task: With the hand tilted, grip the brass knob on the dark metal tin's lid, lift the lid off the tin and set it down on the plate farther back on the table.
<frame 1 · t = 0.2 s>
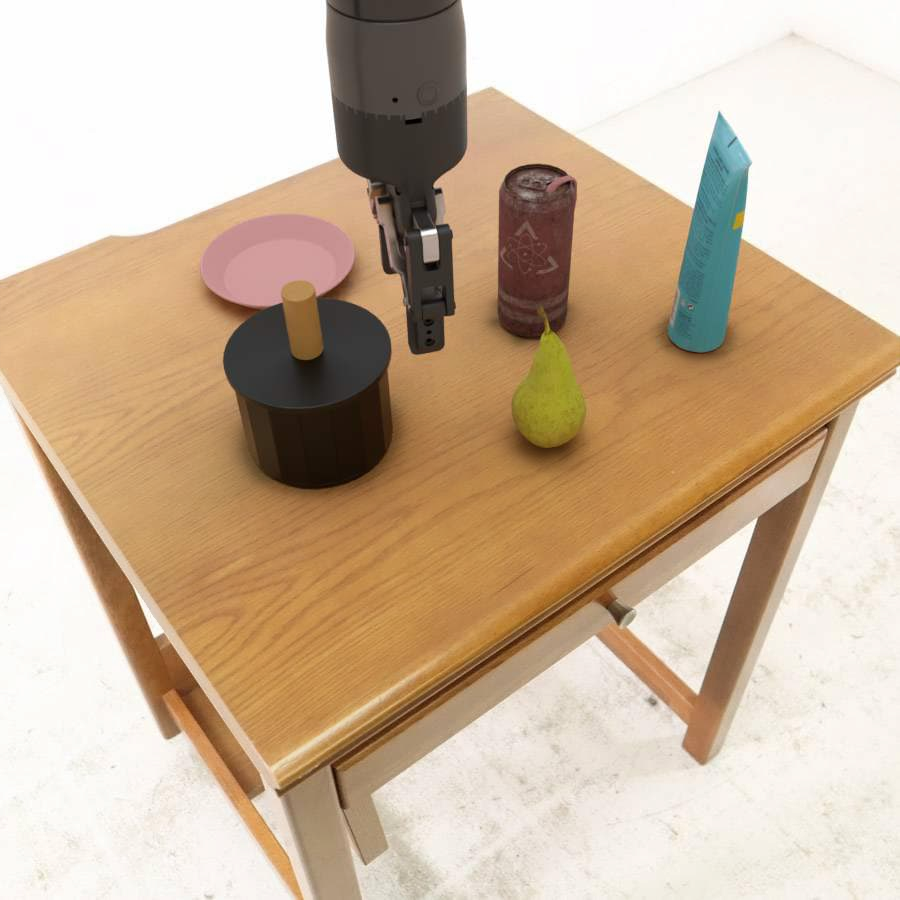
hand: (412, 308, 70), 16 cm above the table, tool pointing down, fingers open, 8 cm apart
tin: (321, 435, 85), on the table
plate: (280, 276, 100), on the table
can: (533, 319, 95), on the table
fruit: (547, 440, 84), on the table
tube: (696, 336, 93), on the table
lid: (308, 355, 79), point 8 cm above the table, touching tin
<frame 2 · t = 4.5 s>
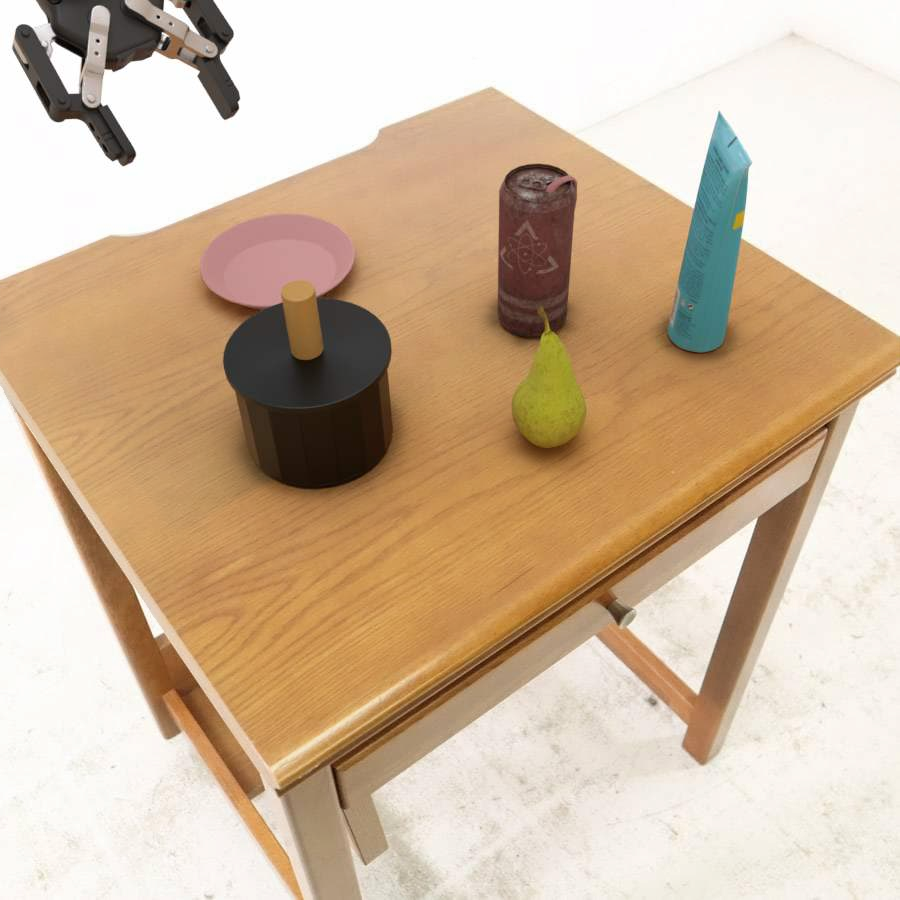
hand: (182, 137, 75), 22 cm above the table, tool tilted 45°, fingers open, 8 cm apart
nothing on the table moved.
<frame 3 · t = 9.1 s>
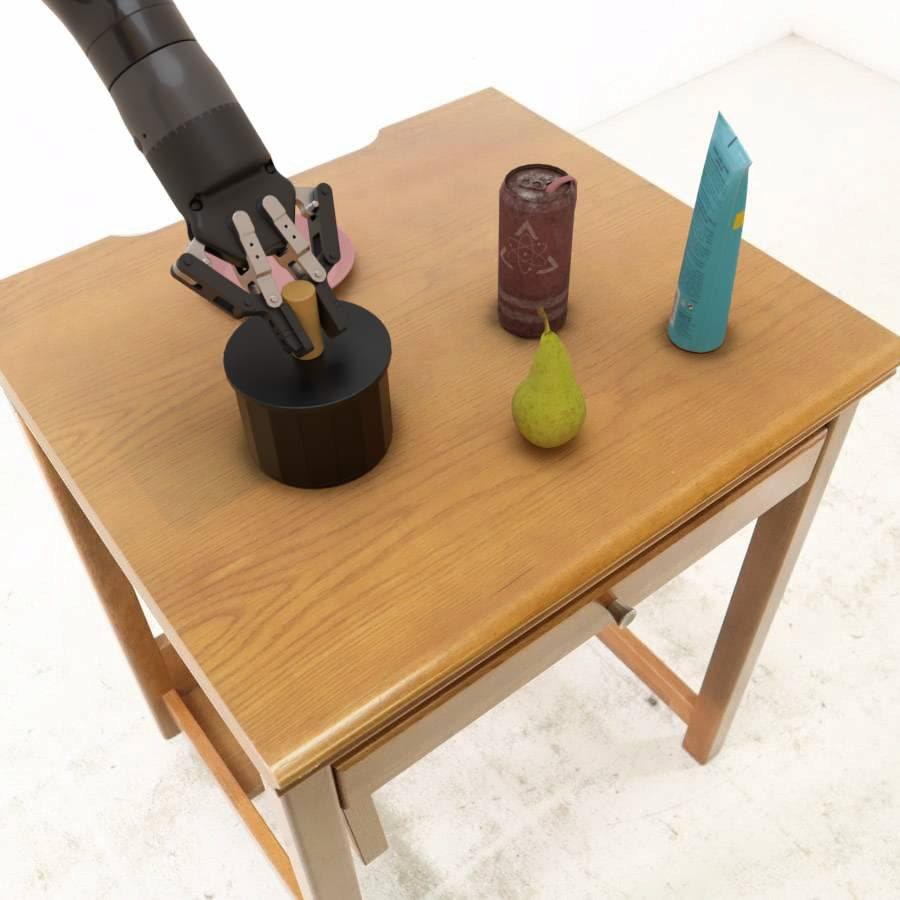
hand: (322, 343, 76), 11 cm above the table, tool tilted 45°, fingers closed on lid, 2 cm apart
lid: (308, 355, 79), point 9 cm above the table, touching gripper, tin
everything else where it was.
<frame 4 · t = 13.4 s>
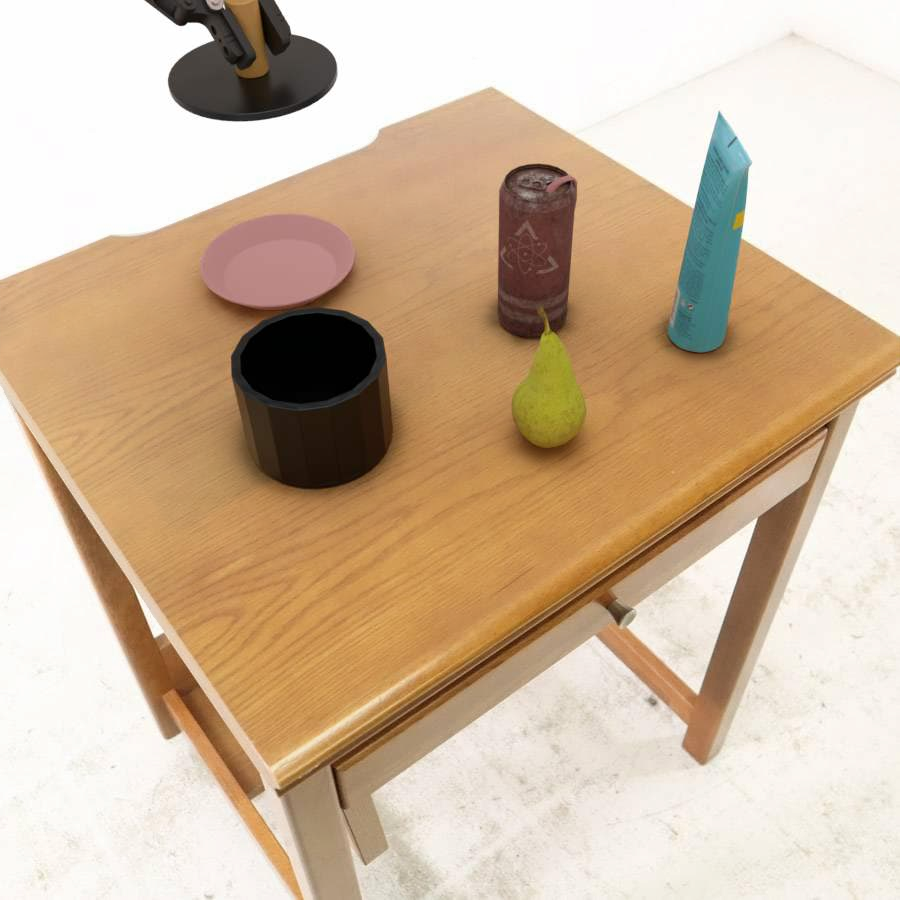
hand: (266, 55, 76), 25 cm above the table, tool tilted 45°, fingers closed on lid, 2 cm apart
lid: (254, 78, 79), point 23 cm above the table, touching gripper
everything else where it was.
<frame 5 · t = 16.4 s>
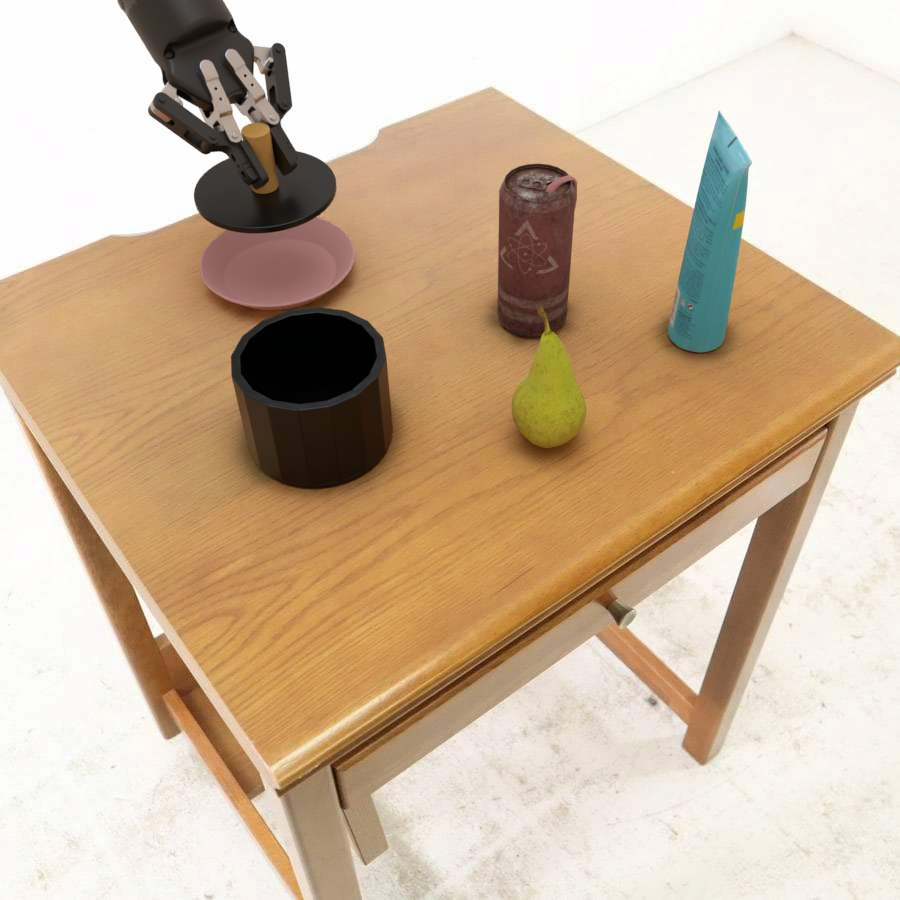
hand: (276, 177, 91), 11 cm above the table, tool tilted 45°, fingers closed on lid, 2 cm apart
lid: (266, 192, 93), point 9 cm above the table, touching gripper
everything else where it was.
when the fingers open (5 cm above the table, at t = 18.1 s): lid stays where it is, resting on plate.
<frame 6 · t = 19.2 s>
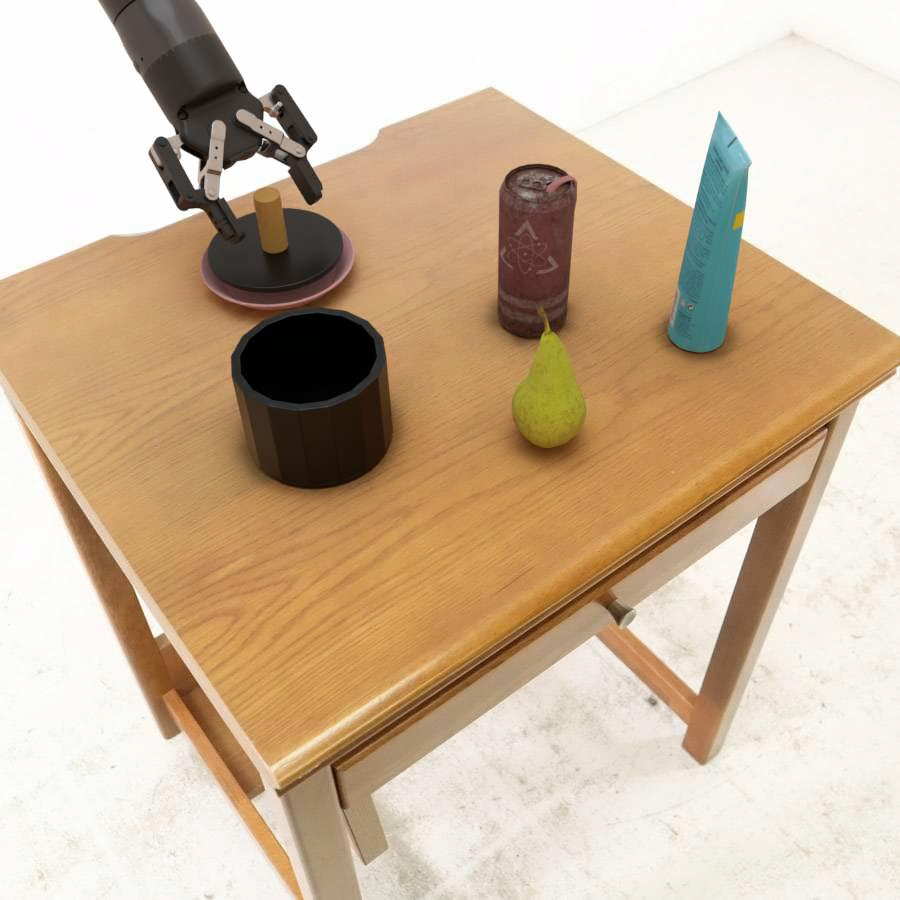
hand: (279, 220, 94), 7 cm above the table, tool tilted 45°, fingers open, 8 cm apart
plate: (280, 276, 100), on the table, touching lid
lid: (276, 251, 98), point 3 cm above the table, touching plate
everything else where it was.
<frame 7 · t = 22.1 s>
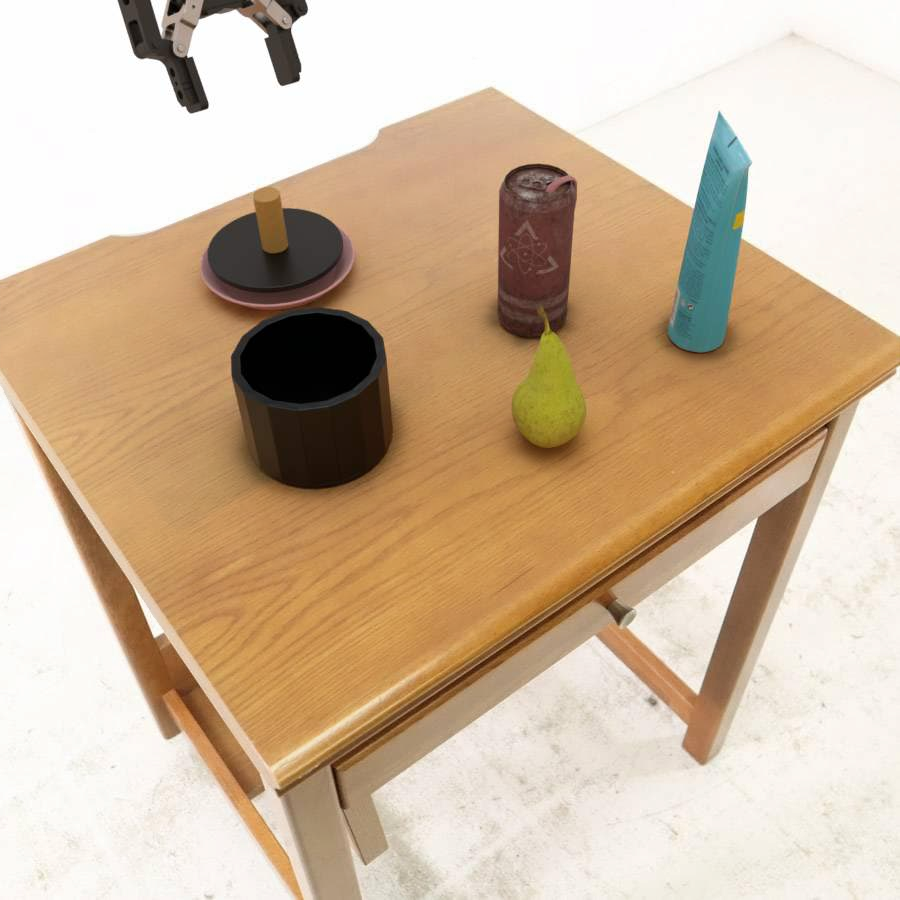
hand: (246, 97, 81), 21 cm above the table, tool tilted 30°, fingers open, 8 cm apart
nothing on the table moved.
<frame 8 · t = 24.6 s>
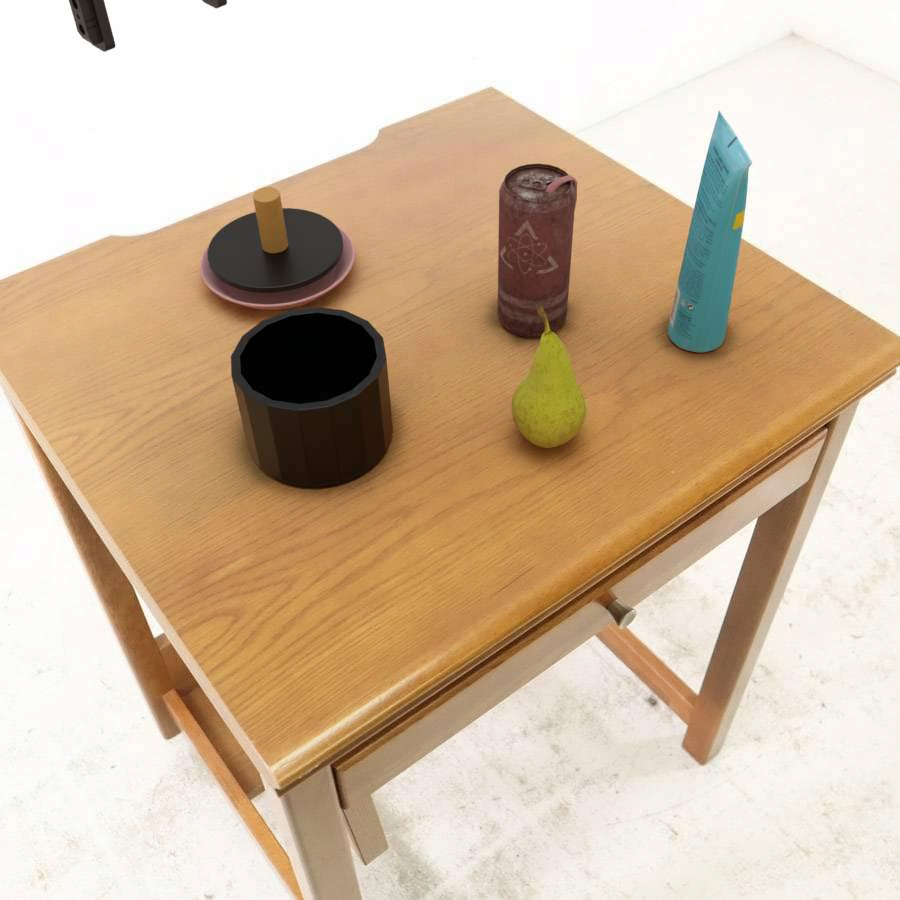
hand: (160, 24, 69), 30 cm above the table, tool pointing down, fingers open, 8 cm apart
nothing on the table moved.
at the end: lid inside the target area on the plate (0.1 cm from its centre), point 2.8 cm above the plate's base; lid tilted 0°; the gripper is holding nothing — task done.
